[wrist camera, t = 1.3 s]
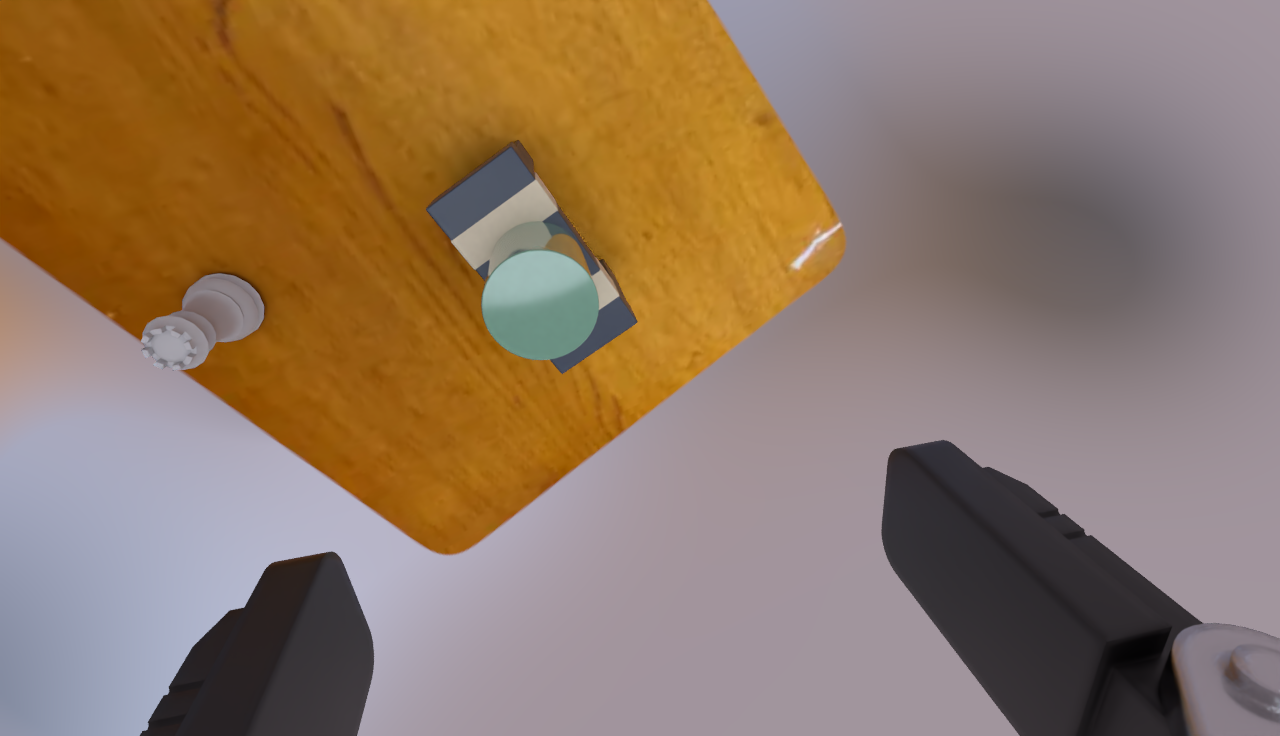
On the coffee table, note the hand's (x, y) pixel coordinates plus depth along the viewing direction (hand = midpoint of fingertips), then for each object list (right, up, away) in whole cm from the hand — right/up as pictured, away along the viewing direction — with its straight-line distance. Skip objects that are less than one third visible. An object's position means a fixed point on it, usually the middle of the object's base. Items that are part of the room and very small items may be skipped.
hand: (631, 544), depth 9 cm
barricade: (-7, +12, +33) cm, 36 cm away
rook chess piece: (-27, +7, +32) cm, 43 cm away
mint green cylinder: (-5, +8, +25) cm, 27 cm away
